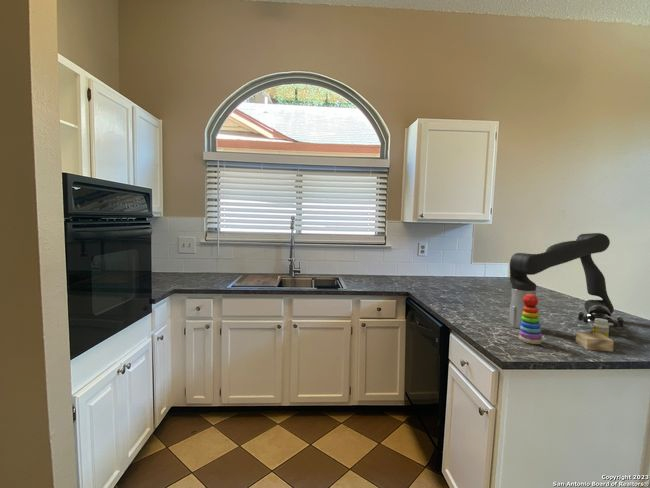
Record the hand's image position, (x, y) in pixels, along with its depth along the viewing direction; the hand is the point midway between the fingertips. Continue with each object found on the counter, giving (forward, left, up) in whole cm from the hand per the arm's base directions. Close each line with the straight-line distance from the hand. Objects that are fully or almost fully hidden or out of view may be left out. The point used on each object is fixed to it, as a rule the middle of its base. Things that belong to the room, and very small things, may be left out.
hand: (600, 323), depth 126 cm
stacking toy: (-28, -11, -6) cm, 31 cm away
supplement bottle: (-1, -3, -6) cm, 7 cm away
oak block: (-7, -11, -6) cm, 15 cm away
